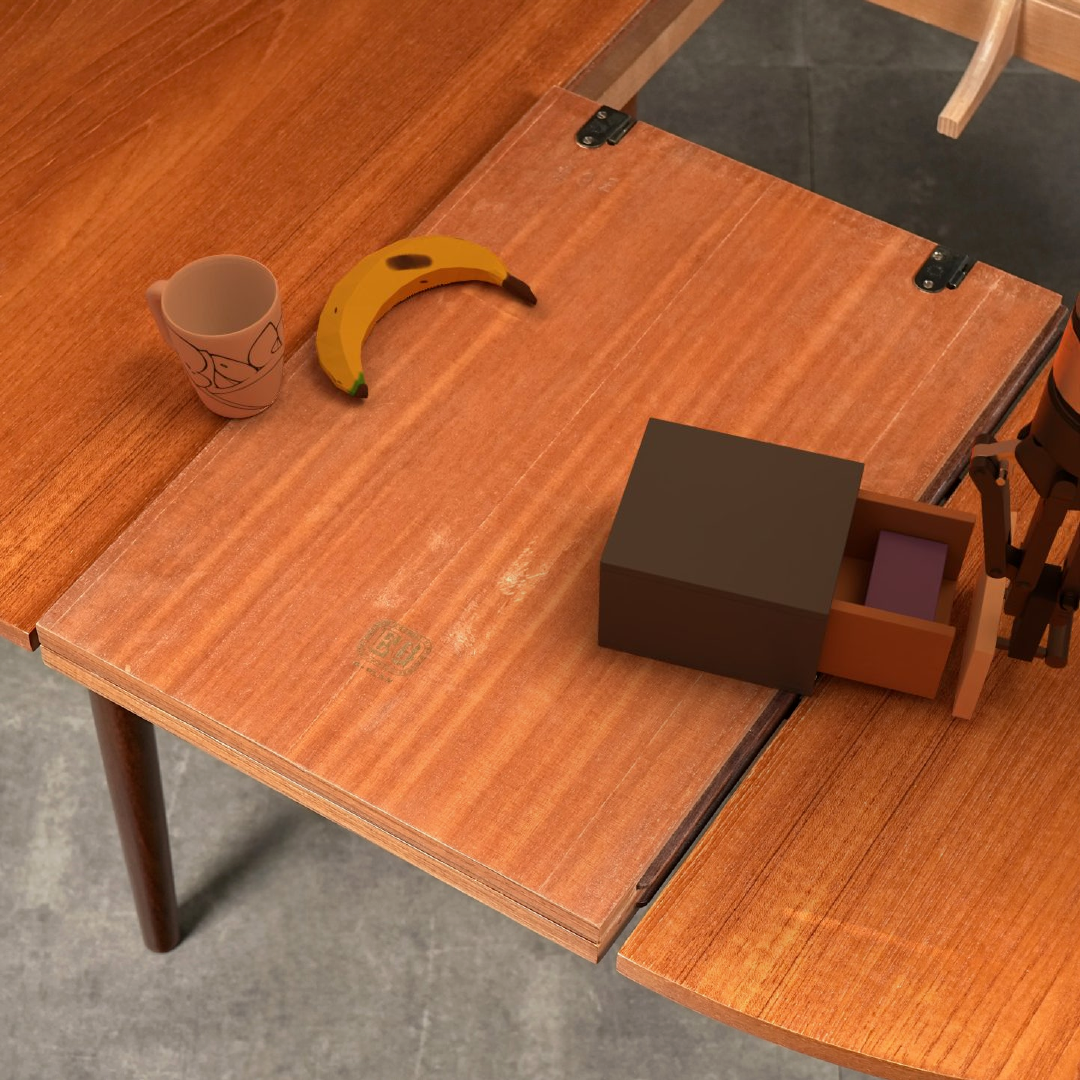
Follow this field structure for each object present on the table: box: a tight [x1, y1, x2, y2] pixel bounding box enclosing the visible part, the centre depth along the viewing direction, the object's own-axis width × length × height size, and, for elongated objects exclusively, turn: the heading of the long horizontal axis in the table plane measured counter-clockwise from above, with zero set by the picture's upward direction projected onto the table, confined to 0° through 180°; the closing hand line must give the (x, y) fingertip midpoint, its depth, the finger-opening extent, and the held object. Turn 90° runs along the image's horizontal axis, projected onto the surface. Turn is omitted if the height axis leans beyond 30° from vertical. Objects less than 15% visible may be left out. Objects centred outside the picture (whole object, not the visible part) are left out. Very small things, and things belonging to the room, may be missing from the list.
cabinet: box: [597, 416, 866, 698], centre depth 113 cm, size 15×13×10 cm
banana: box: [314, 233, 538, 400], centre depth 131 cm, size 5×17×15 cm
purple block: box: [863, 530, 948, 622], centre depth 112 cm, size 4×8×4 cm, turn 164°
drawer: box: [817, 488, 1075, 720], centre depth 111 cm, size 18×11×8 cm, turn 73°
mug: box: [144, 253, 285, 419], centre depth 125 cm, size 11×8×10 cm
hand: (1022, 642), depth 105 cm, fingers closed
